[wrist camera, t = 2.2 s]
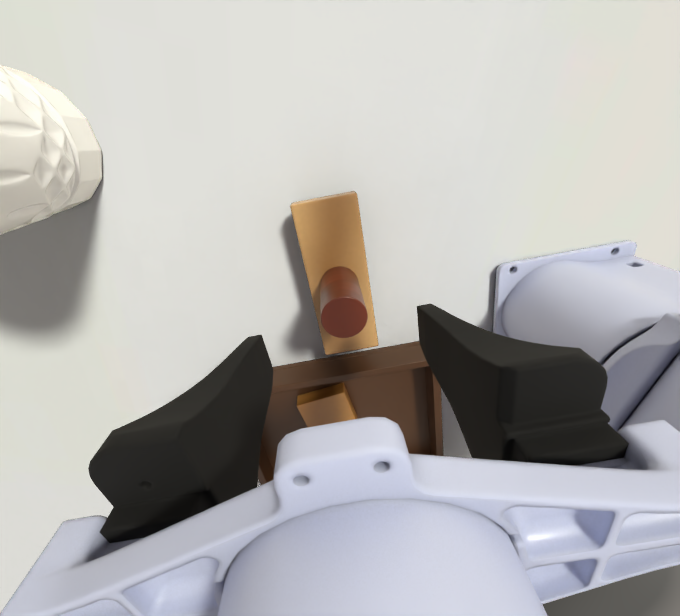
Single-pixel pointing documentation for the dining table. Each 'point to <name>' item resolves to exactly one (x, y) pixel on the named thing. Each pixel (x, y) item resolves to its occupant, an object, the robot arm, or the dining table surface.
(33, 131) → the white cup
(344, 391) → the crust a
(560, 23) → the dining table surface
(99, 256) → the dining table surface
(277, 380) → the tray
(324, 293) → the wooden stamp
